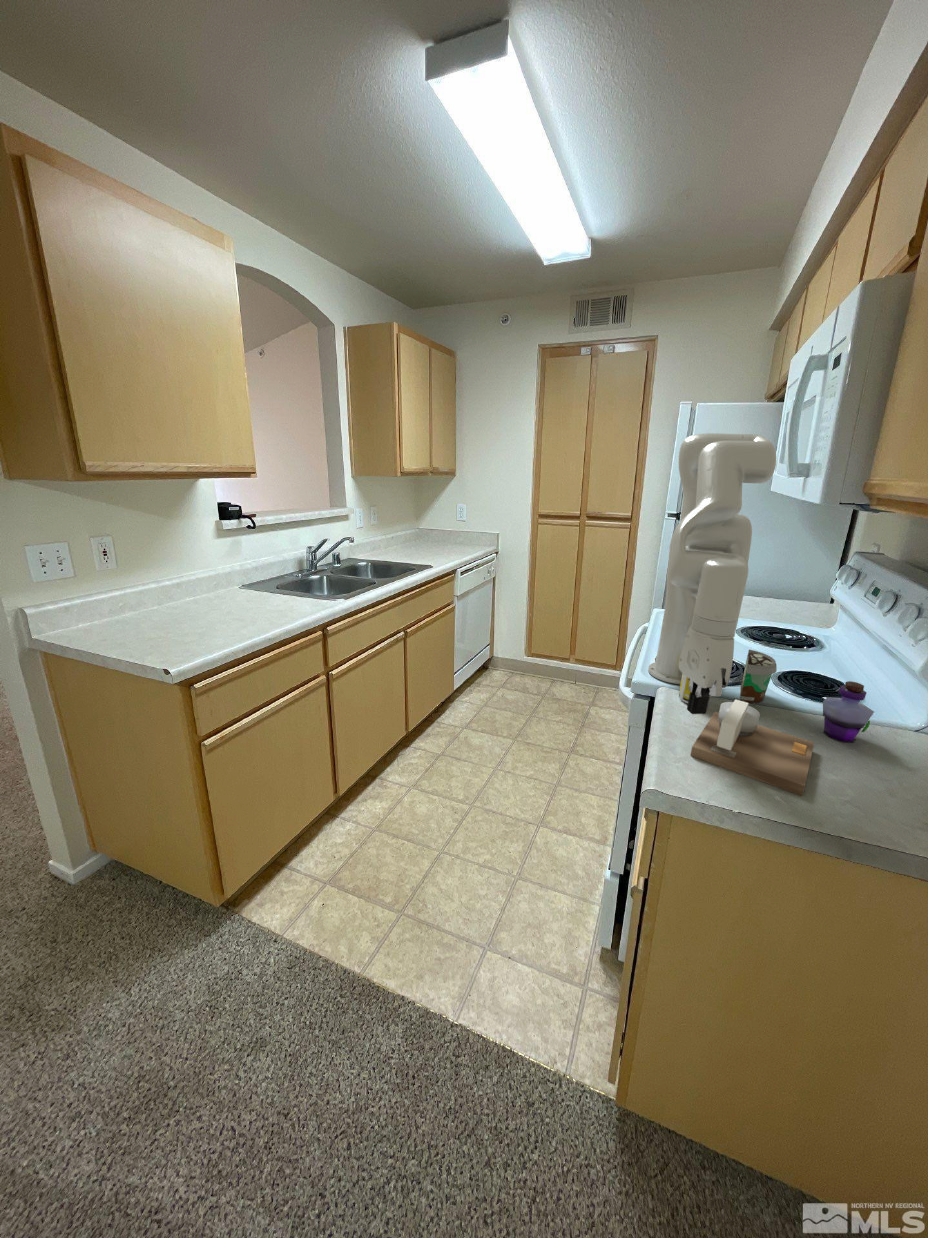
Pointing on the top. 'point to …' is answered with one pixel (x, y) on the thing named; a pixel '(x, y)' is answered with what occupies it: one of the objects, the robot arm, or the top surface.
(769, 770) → the post base
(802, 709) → the top surface
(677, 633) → the robot arm
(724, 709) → the white bar with knob
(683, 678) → the pill bottle
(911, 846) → the top surface
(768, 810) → the top surface
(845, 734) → the potion bottle
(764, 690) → the food container
